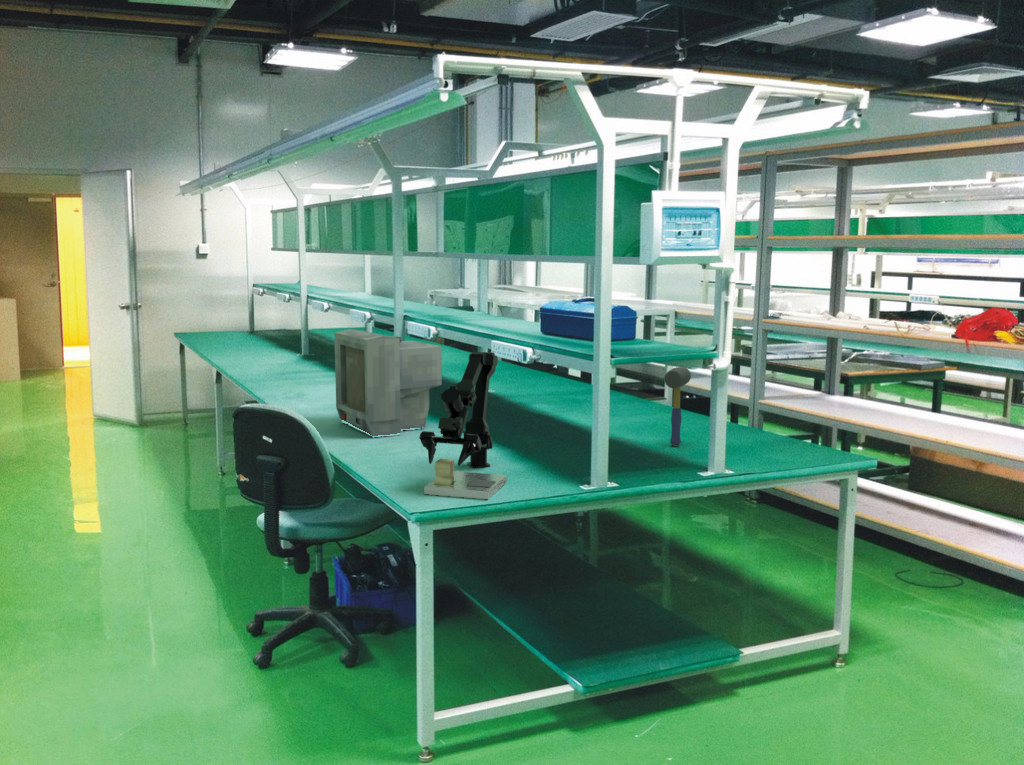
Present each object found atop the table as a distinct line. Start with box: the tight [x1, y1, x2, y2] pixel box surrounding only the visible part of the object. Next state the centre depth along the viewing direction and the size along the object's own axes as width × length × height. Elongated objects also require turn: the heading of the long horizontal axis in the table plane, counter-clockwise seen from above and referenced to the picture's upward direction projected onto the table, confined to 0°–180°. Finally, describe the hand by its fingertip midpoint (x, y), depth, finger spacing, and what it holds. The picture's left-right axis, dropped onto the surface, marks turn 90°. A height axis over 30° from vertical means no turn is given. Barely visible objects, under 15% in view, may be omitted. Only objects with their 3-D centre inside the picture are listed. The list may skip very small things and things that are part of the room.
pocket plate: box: [423, 470, 508, 500], centre depth 266 cm, size 20×20×3 cm
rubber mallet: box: [663, 366, 692, 447], centre depth 326 cm, size 12×8×30 cm, turn 152°
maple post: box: [434, 458, 455, 486], centre depth 263 cm, size 4×4×10 cm
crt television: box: [333, 328, 443, 436], centre depth 359 cm, size 39×36×40 cm
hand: (444, 464), depth 262 cm, fingers open, 9 cm apart
